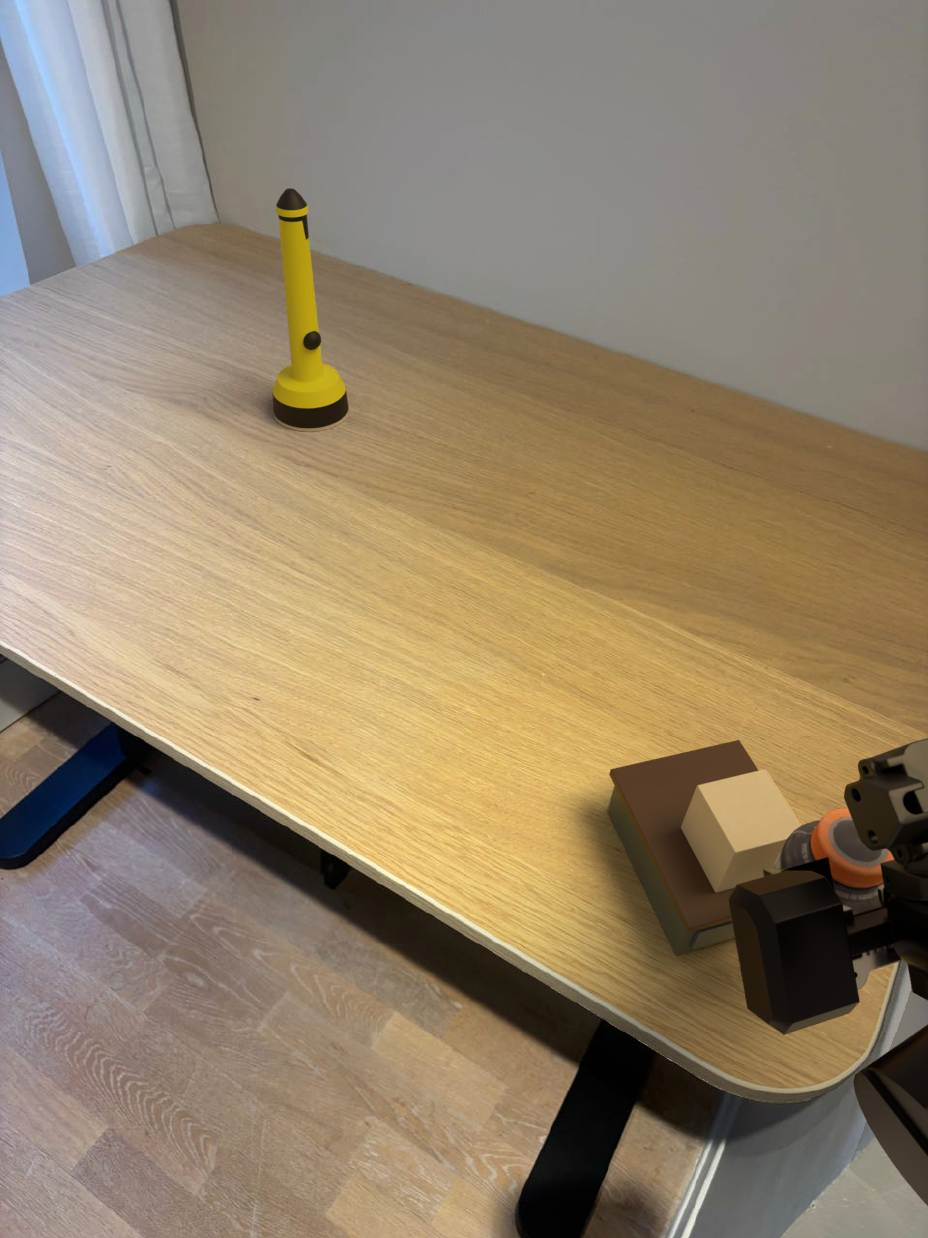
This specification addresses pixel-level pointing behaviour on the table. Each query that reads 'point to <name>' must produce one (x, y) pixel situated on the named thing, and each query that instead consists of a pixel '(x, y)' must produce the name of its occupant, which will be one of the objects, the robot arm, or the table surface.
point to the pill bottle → (838, 858)
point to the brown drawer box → (675, 839)
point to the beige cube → (738, 827)
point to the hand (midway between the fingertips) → (816, 863)
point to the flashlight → (303, 334)
